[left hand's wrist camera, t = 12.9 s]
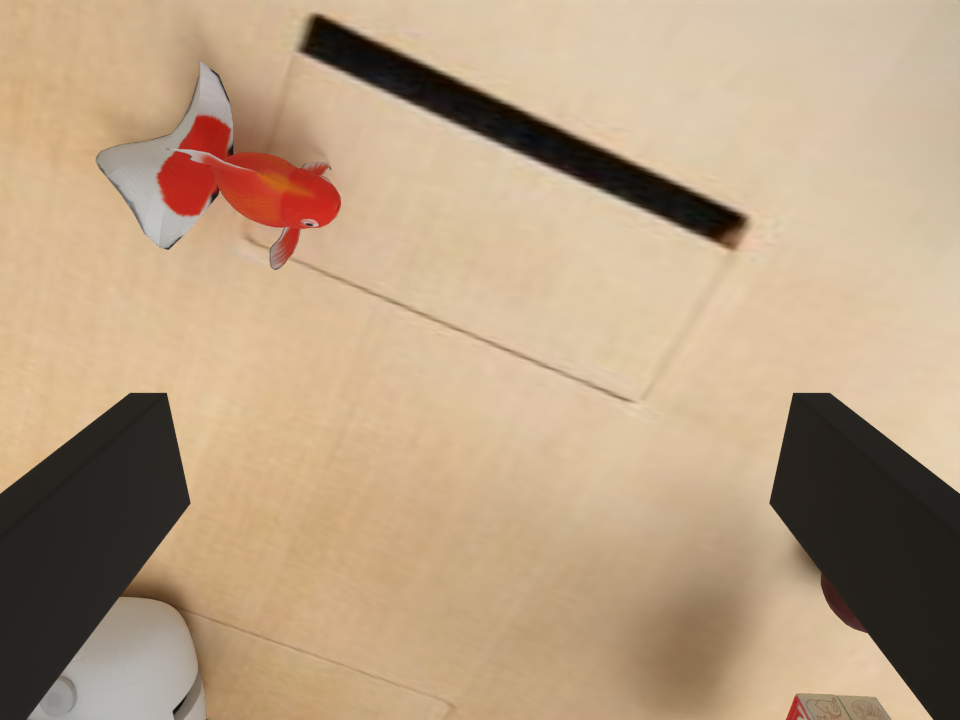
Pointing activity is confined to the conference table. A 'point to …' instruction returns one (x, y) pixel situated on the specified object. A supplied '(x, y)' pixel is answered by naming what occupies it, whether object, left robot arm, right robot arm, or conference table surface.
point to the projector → (130, 669)
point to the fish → (216, 177)
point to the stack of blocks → (836, 708)
